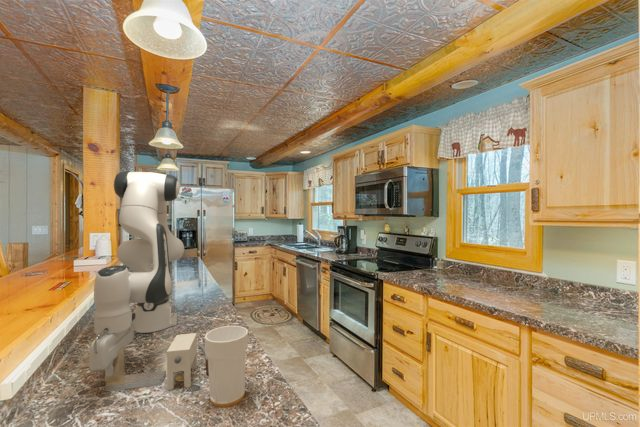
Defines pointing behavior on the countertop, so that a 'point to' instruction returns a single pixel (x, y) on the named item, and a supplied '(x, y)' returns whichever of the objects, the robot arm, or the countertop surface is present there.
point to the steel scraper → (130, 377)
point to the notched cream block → (182, 358)
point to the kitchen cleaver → (202, 347)
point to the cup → (226, 364)
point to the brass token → (180, 377)
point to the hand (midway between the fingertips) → (114, 370)
